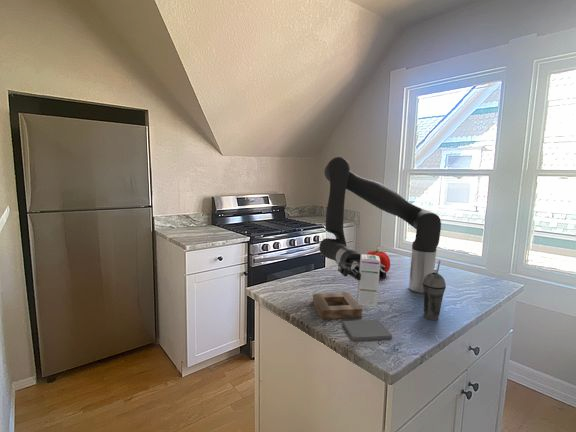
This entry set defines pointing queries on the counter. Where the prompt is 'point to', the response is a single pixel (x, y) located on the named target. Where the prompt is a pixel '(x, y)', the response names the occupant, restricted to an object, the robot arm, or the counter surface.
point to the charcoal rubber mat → (366, 330)
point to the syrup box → (368, 280)
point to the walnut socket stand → (331, 312)
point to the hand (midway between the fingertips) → (372, 276)
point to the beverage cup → (433, 294)
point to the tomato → (382, 258)
